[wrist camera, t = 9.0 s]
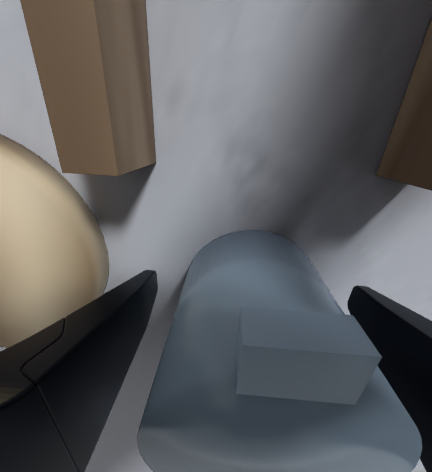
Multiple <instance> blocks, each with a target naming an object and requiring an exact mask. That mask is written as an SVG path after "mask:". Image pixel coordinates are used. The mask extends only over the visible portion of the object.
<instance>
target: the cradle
mask: <svg viewBox="0 0 432 472" xmlns="http://www.w3.org/2000/svg"><path fill="white" fill-rule="evenodd" d="M20 1H21V5H22V9H23V13H24V18H25V22H26V26H27V30H28V34H29V38H30V42H31V46H32V50H33V54H34V58H35V63H36V67H37V71H38V75H39V79H40V83H41V87H42V91H43V95H44V99H45V104H46V108H47V112H48V116H49V120H50V124H51V128H52V132H53V136H54V140H55V144H56V149H57V153H58V157H59V161H60V165H61V169H62V173H76V174H92V175H108V176H120V175H123V174H125V173H128V172H131V171H134V170H137V169H139V168H142V167H145V166H148V165H151V164H154V163H156V154H155V139H154V123H153V108H152V93H151V77H150V62H149V46H148V31H147V16H146V0H20ZM376 176H380V177H383V178H387V179H391V180H394V181H398V182H402V183H406V184H409V185H413V186H417V187H421V188H424V189H428V190H432V19H431V22H430V25H429V27H428V30H427V33H426V36H425V39H424V42H423V44H422V47H421V50H420V53H419V56H418V59H417V61H416V64H415V67H414V70H413V73H412V75H411V78H410V81H409V84H408V87H407V90H406V92H405V95H404V98H403V101H402V104H401V107H400V109H399V112H398V115H397V118H396V121H395V123H394V126H393V129H392V132H391V135H390V138H389V140H388V143H387V146H386V149H385V152H384V155H383V157H382V160H381V163H380V166H379V169H378V172H377V174H376Z"/></svg>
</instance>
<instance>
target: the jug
mask: <svg viewBox="0 0 432 472" xmlns="http://www.w3.org/2000/svg"><path fill="white" fill-rule="evenodd" d="M381 358H382V356H381V355H380V354H379V352H378V351H377V349H376V348H375V346H374V345H373V343H372V342H371V340H370V339H369V338H368V336H367V335H366V333H365V332H364V330H363V329H362V327H361V326H360V324H359V323H358V322H357V320H356V319H355V317H354V316H353V315H345V314H344V313H343V311H342V310H341V308H340V307H339V305H338V303H337V302H336V300H335V299H334V297H333V296H332V294H331V293H330V291H329V289H328V288H327V286H326V285H325V283H324V282H323V280H322V279H321V277H320V275H319V274H318V272H317V271H316V269H315V268H314V266H313V265H312V263H311V261H310V260H309V258H308V257H307V256H306V254H305V253H304V252H303V251H302V250H301V249H300V248H299V246H297V245H296V244H295V243H293V242H292V241H290V240H288V239H287V238H285V237H283V236H280V235H278V234H275V233H271V232H267V231H260V230H244V231H237V232H233V233H229V234H226V235H223V236H221V237H219V238H217V239H215V240H213V241H211V242H210V243H208V244H207V245H206V246H205V247H203V248H202V249H201V250H200V251H199V252H198V254H197V255H196V256H195V257H194V259H193V261H192V262H191V264H190V267H189V269H188V272H187V276H186V279H185V282H184V285H183V288H182V292H181V295H180V298H179V301H178V304H177V308H176V311H175V314H174V317H173V321H172V324H171V327H170V330H169V333H168V337H167V340H166V343H165V346H164V349H163V353H162V356H161V359H160V362H159V365H158V369H157V372H156V375H155V378H154V382H153V385H152V388H151V391H150V394H149V398H148V401H147V404H146V407H145V410H144V414H143V417H142V420H141V423H140V426H139V430H138V436H137V443H138V449H139V452H140V455H141V456H142V458H143V460H144V461H145V463H146V464H147V465H148V466H149V468H150V469H151V470H152V471H153V472H411V471H412V470H413V469H414V468H415V466H416V465H417V463H418V461H419V459H420V456H421V451H422V440H421V436H420V433H419V431H418V428H417V426H416V425H415V423H414V422H413V420H412V418H411V417H410V415H409V414H408V412H407V411H406V409H405V408H404V406H403V404H402V403H401V401H400V400H399V398H398V397H397V395H396V394H395V392H394V390H393V389H392V387H391V386H390V384H389V383H388V381H387V380H386V378H385V376H384V375H383V373H382V372H381V370H380V369H379V367H378V366H377V365H378V363H379V362H380V360H381Z"/></svg>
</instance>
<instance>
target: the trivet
mask: <svg viewBox="0 0 432 472" xmlns="http://www.w3.org/2000/svg"><path fill="white" fill-rule="evenodd" d="M108 275H109V260H108V252H107V248H106V244H105V240H104V237H103V235H102V232H101V230H100V227H99V225H98V223H97V221H96V219H95V217H94V216H93V214H92V212H91V210H90V209H89V207H88V206H87V204H86V203H85V202H84V200H83V199H82V197H81V196H80V195H79V194H78V192H77V191H76V190H75V189H74V188H73V186H72V185H71V184H70V183H69V182H68V181H67V180H66V179H65V178H64V177H63V176H62V175H61V174H60V173H59V172H58V171H57V170H56V169H55V168H53V167H52V166H51V165H50V164H48V163H47V162H46V161H45V160H43V159H42V158H41V157H40V156H38V155H36V154H35V153H33V152H32V151H30V150H29V149H27V148H26V147H24V146H23V145H21V144H19V143H17V142H15V141H13V140H11V139H9V138H7V137H5V136H3V135H1V134H0V346H1V347H8V348H9V347H11V346H12V345H14V344H16V343H18V342H20V341H22V340H24V339H26V338H28V337H30V336H32V335H34V334H35V333H37V332H39V331H41V330H43V329H44V328H46V327H48V326H50V325H51V324H53V323H55V322H57V321H58V320H60V319H62V318H66V316H67V315H69V314H71V313H72V312H74V311H76V310H77V309H79V308H81V307H83V306H84V305H86V304H88V303H90V302H91V301H93V300H95V299H96V298H98V297H100V296H102V295H103V292H104V290H105V287H106V285H107V280H108Z"/></svg>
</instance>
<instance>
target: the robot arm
mask: <svg viewBox="0 0 432 472" xmlns="http://www.w3.org/2000/svg"><path fill="white" fill-rule="evenodd" d="M157 290H158V285H157V273H156V271H153V270H145V271H143V272H141V273H140V274H138V275H136V276H134V277H133V278H131V279H129V280H128V281H126V282H124V283H122V284H121V285H119V286H117V287H115V288H114V289H112V290H110V291H109V292H107V293H105V294H103V295H102V296H100V297H98V298H96V299H95V300H93V301H91V302H90V303H88V304H86V305H84V306H83V307H81V308H79V309H77V310H76V311H74V312H72V313H71V314H69V315H67V316H66V318H62V319H60V320H58V321H57V322H55V323H53V324H51V325H50V326H48V327H46V328H44V329H43V330H41V331H39V332H37V333H35V334H34V335H32V336H30V337H28V338H26V339H24V340H22V341H20V342H18V343H16V344H14V345H12V346H11V347H9V348H7V349H5V350H3V351H1V352H0V472H85V469H86V467H87V465H88V462H89V460H90V458H91V455H92V453H93V451H94V448H95V446H96V444H97V441H98V439H99V437H100V434H101V432H102V430H103V427H104V425H105V423H106V420H107V418H108V416H109V413H110V411H111V409H112V407H113V404H114V402H115V400H116V397H117V395H118V393H119V390H120V388H121V386H122V383H123V381H124V379H125V376H126V374H127V372H128V369H129V367H130V365H131V362H132V360H133V358H134V355H135V353H136V351H137V348H138V346H139V344H140V341H141V339H142V337H143V334H144V332H145V330H146V327H147V324H148V321H149V318H150V314H151V311H152V308H153V304H154V301H155V298H156V294H157ZM348 309H349V312H350V314H351V315H353V316H354V317H355V319H356V320H357V322H358V323H359V324H360V326H361V327H362V329H363V330H364V332H365V333H366V335H367V336H368V338H369V339H370V340H371V342H372V343H373V345H374V346H375V348H376V349H377V351H378V352H379V354H380V355H381V356H382V358H381V360H380V362H379V363H378V365H377V366H378V367H379V369H380V370H381V372H382V373H383V375H384V376H385V378H386V380H387V381H388V383H389V384H390V386H391V387H392V389H393V390H394V392H395V394H396V395H397V397H398V398H399V400H400V401H401V403H402V404H403V406H404V408H405V409H406V411H407V412H408V414H409V415H410V417H411V418H412V420H413V422H414V423H415V425H416V426H417V428H418V431H419V433H420V436H421V440H422V451H421V456H420V460H421V462H422V464H423V466H424V468H425V469H426V471H427V472H432V321H430V320H429V319H427V318H425V317H423V316H421V315H419V314H417V313H416V312H414V311H412V310H410V309H408V308H406V307H404V306H402V305H401V304H399V303H397V302H395V301H393V300H391V299H389V298H387V297H386V296H384V295H382V294H380V293H378V292H376V291H374V290H372V289H371V288H369V287H366V286H355V287H354V288H353V289H352V292H351V295H350V297H349V300H348Z"/></svg>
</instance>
